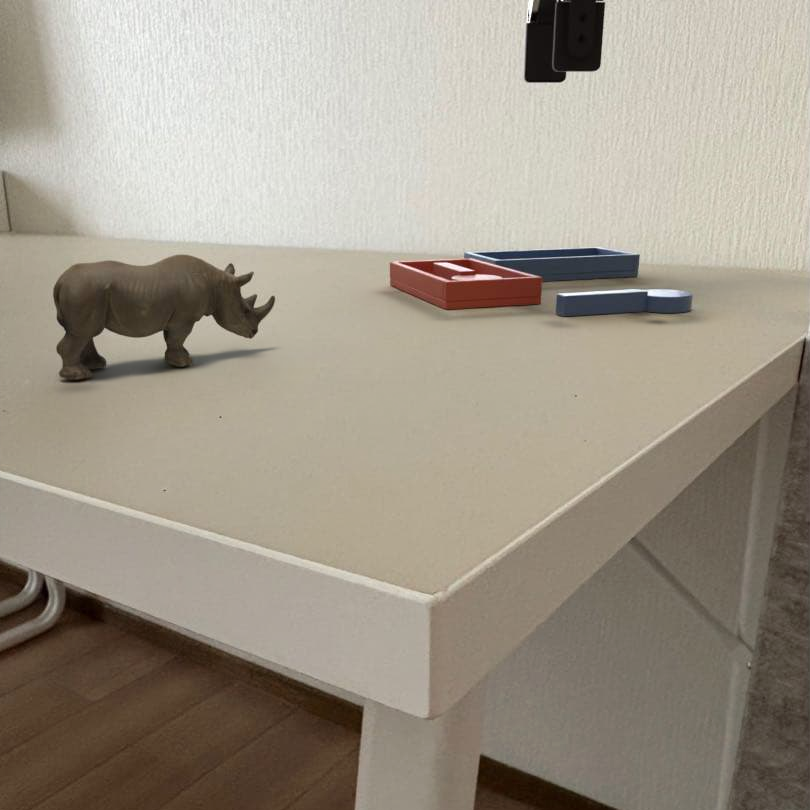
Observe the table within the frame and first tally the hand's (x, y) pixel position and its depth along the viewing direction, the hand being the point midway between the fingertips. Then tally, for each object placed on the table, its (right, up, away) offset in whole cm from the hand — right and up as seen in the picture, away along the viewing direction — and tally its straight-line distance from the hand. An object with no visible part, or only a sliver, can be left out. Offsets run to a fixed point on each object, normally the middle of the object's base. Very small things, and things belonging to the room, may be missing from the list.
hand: (559, 77), depth 64 cm
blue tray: (+3, -7, +24) cm, 25 cm away
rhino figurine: (-25, -23, -12) cm, 36 cm away
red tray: (-6, -12, +13) cm, 19 cm away
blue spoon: (+5, -16, +4) cm, 17 cm away
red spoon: (-7, -12, +13) cm, 18 cm away
